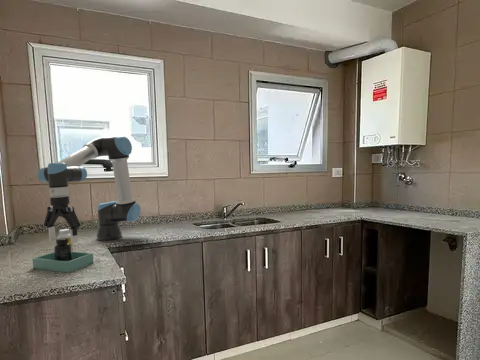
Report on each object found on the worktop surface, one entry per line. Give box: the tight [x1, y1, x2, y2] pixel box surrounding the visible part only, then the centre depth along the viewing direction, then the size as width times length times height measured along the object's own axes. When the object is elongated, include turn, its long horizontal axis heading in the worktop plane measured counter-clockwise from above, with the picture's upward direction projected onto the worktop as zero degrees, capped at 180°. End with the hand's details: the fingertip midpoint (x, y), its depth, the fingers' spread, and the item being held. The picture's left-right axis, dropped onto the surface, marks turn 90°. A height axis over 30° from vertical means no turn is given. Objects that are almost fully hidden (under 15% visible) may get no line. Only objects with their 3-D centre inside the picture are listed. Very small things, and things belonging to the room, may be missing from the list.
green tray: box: [32, 250, 94, 274], centre depth 138 cm, size 14×22×5 cm, turn 70°
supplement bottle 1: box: [56, 228, 74, 251], centre depth 158 cm, size 7×7×13 cm
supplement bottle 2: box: [53, 238, 72, 262], centre depth 138 cm, size 7×7×12 cm
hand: (63, 241), depth 138 cm, fingers open, 13 cm apart
